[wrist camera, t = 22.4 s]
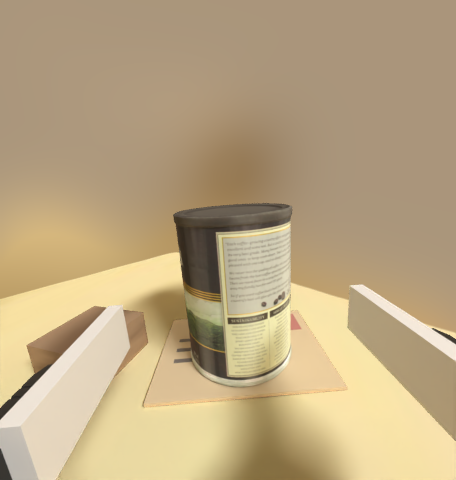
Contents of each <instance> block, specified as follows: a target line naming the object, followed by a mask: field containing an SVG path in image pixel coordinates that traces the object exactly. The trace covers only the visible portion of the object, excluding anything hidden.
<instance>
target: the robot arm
mask: <svg viewBox="0 0 456 480" xmlns="http://www.w3.org/2000/svg"><path fill="white" fill-rule="evenodd" d="M348 329H349V330H350V331H351V332H352V333H353V334H354V335H355V336H356V337H357V338H358V339H359V340H360V341H361V342H362V343H363V344H364V346H365V347H366V348H367V349H368V350H369V351H370V352H371V353H372V354H373V355H374V356H375V357H376V358H377V359H378V360H379V361H380V362H381V363H382V364H383V365H384V366H385V368H386V369H387V370H388V371H389V372H390V373H391V374H392V375H393V376H394V377H395V378H396V379H397V380H398V381H399V382H400V383H401V384H402V385H403V386H404V387H405V389H406V390H407V391H408V392H409V393H410V394H411V395H412V396H413V397H414V398H415V399H416V400H417V401H418V402H419V403H420V404H421V405H422V406H423V407H424V408H425V409H426V411H427V412H428V413H429V414H430V415H431V416H432V417H433V418H434V419H435V420H436V421H437V422H438V423H439V424H440V425H441V426H442V427H443V428H444V429H445V430H446V432H447V433H448V434H449V435H450V436H451V437H452V438H453V439H454V440H455V441H456V339H455V338H453V337H452V336H450V335H448V334H445V333H443V332H441V331H438V330H436V329H434V328H432V329H431V328H429V327H428V326H426V325H425V324H423V323H422V322H420V321H419V320H417V319H415V318H414V317H412V316H410V315H409V314H408V313H406V312H405V311H403V310H401V309H400V308H398V307H397V306H395V305H394V304H392V303H390V302H389V301H387V300H385V299H384V298H383V297H381V296H380V295H378V294H376V293H375V292H373V291H372V290H370V289H369V288H367V287H365V286H364V285H352V286H350V290H349V309H348ZM129 349H130V343H129V338H128V333H127V327H126V322H125V317H124V312H123V306H122V305H116V306H108V307H107V308H106V309H105V310H104V311H103V312H102V314H101V315H100V316H99V317H98V318H97V319H96V320H95V321H94V322H93V323H92V324H91V325H90V326H89V327H88V328H87V329H86V330H85V331H84V332H83V334H82V335H81V336H80V337H79V338H78V339H77V340H76V341H75V342H74V343H73V344H72V345H71V346H70V347H69V348H68V349H67V350H66V351H65V352H64V354H63V355H62V356H61V357H60V358H59V359H58V360H57V361H56V362H55V363H54V364H49V365H47V366H46V367H44V368H43V369H41V370H40V371H38V372H37V373H36V374H34V375H33V376H32V377H31V378H30V379H29V380H28V381H27V382H26V383H25V384H24V385H23V386H22V388H21V389H19V390H18V391H17V392H16V393H15V394H14V395H13V396H12V398H11V399H9V400H8V401H7V402H6V403H5V404H4V405H3V406H2V407H1V408H0V480H56V479H57V477H58V475H59V474H60V472H61V470H62V468H63V467H64V465H65V463H66V461H67V459H68V458H69V456H70V454H71V452H72V450H73V449H74V447H75V445H76V443H77V442H78V440H79V438H80V436H81V434H82V433H83V431H84V429H85V427H86V425H87V424H88V422H89V420H90V418H91V417H92V415H93V413H94V411H95V409H96V408H97V406H98V404H99V402H100V400H101V399H102V397H103V395H104V393H105V392H106V390H107V388H108V386H109V384H110V383H111V381H112V379H113V377H114V375H115V374H116V372H117V370H118V368H119V367H120V365H121V363H122V361H123V359H124V358H125V356H126V354H127V352H128V350H129Z"/></svg>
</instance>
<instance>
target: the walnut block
mask: <svg viewBox="0 0 456 480" xmlns="http://www.w3.org/2000/svg"><path fill="white" fill-rule="evenodd" d="M105 309H106V308H105V307H97V306H94V307H92V308H90V309H89V310H87V311H85V312H83V313H82V314H80V315H78V316H77V317H75V318H73V319H71V320H70V321H68V322H66V323H64V324H63V325H61V326H59V327H57V328H56V329H54V330H52V331H51V332H49V333H47V334H45V335H44V336H42V337H40V338H38V339H37V340H35V341H33V342H31V343H30V344H28V345H27V349H28V352H29V355H30V359H31V362H32V365H33V368H34V372H35V374H36V373H37V372H38V371H40V370H41V369H43V368H44V367H46V366H47V365H49V364H54V363H55V362H56V361H57V360H58V359H59V358H60V357H61V356H62V355H63V354H64V352H65V351H66V350H67V349H68V348H69V347H70V346H71V345H72V344H73V343H74V342H75V341H76V340H77V339H78V338H79V337H80V336H81V335H82V334H83V332H84V331H85V330H86V329H87V328H88V327H89V326H90V325H91V324H92V323H93V322H94V321H95V320H96V319H97V318H98V317H99V316H100V315H101V314H102V312H103V311H104V310H105ZM123 312H124V317H125V322H126V327H127V333H128V338H129V343H130V349H129V350H128V352H127V354H126V356H125V358H124V359H123V361H122V363H121V365H120V367H119V368H118V370H117V372H116V374H115V375H114V377H115V376H116V375H117V374H118V373H119V372H120V371H121V370H122V369H123V368H124V367H125V366H126V365H127V364H128V363H129V362H130V361H131V360H132V359H133V358H134V357H135V356H136V355H137V354H138V353H139V352H140V351H141V350H142V349H143V348H144V347H145V346H146V345H147V344H148V339H147V333H146V327H145V321H144V315H143V312H135V311H128V310H123ZM114 377H113V378H114Z"/></svg>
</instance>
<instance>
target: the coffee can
mask: <svg viewBox="0 0 456 480" xmlns="http://www.w3.org/2000/svg"><path fill="white" fill-rule="evenodd" d="M291 215H292V206H289V205H285V204H269V203H267V204H266V203H263V204H236V205H223V206H212V207H204V208H196V209H189V210H184V211H179V212H177V213H175V214H174V215H173V216H174V222H175V223H176V229H177V237H178V245H179V253H180V261H181V270H182V278H183V285H184V294H185V301H186V310H187V319H188V326H189V336H190V343H191V358H192V361H193V364H194V366H195V367H196V369H197V370H198V371H199V372H200V373H201V374H202V375H203V376H205V377H206V378H207V379H209V380H211V381H213V382H216V383H218V384H221V385H226V386H231V387H249V386H254V385H258V384H262V383H264V382H267V381H269V380H271V379H273V378H275V377H276V376H278V375H279V374H280V373H281V372H282V371H283V370H284V369H285V368H286V366H287V364H288V363H289V360H290V357H291V350H292V347H291V305H290V296H291V294H290V293H291V290H290V217H291Z"/></svg>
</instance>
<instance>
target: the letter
mask: <svg viewBox="0 0 456 480" xmlns="http://www.w3.org/2000/svg"><path fill="white" fill-rule="evenodd" d="M291 347H292V350H291V357H290V360H289V363H288V364H287V366H286V368H285V369H284V370H283V371H282V372H281V373H280V374H279V375H278V376H276V377H275V378H273V379H271V380H269V381H267V382H264V383H262V384H258V385H254V386H249V387H231V386H226V385H221V384H218V383H216V382H213V381H211V380H209V379H207V378H206V377H205V376H203V375H202V374H201V373H200V372H199V371H198V370H197V369H196V367H195V366H194V364H193V361H192V358H191V343H190V336H189V326H188V319H180V320H174V321H173V324H172V327H171V329H170V332H169V335H168V338H167V340H166V343H165V346H164V349H163V351H162V354H161V357H160V360H159V362H158V365H157V368H156V371H155V373H154V376H153V379H152V382H151V384H150V387H149V390H148V393H147V395H146V398H145V401H144V404H143V405H144V407H152V406H164V405H176V404H187V403H199V402H211V401H222V400H234V399H246V398H257V397H269V396H281V395H292V394H304V393H316V392H327V391H339V390H347V385H346V384H345V382H344V381H343V379H342V378H341V376H340V375H339V373H338V371H337V370H336V368H335V367H334V365H333V364H332V362H331V361H330V359H329V358H328V356H327V354H326V353H325V351H324V350H323V348H322V347H321V345H320V344H319V342H318V341H317V339H316V337H315V336H314V334H313V333H312V331H311V330H310V328H309V327H308V325H307V324H306V322H305V321H304V319H303V317H302V316H301V314H300V313H299V311H298V310H293V311H291Z"/></svg>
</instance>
